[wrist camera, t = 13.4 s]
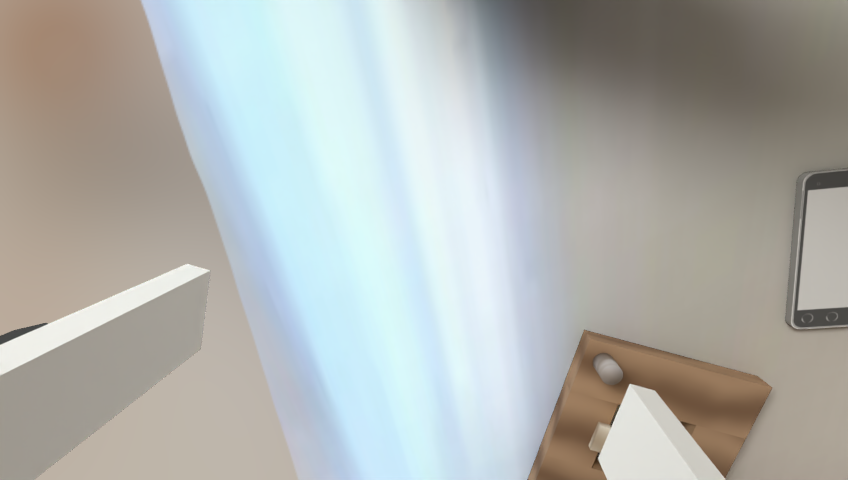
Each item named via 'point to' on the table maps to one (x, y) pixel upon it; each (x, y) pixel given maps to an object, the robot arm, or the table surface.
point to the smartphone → (819, 252)
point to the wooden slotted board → (653, 369)
